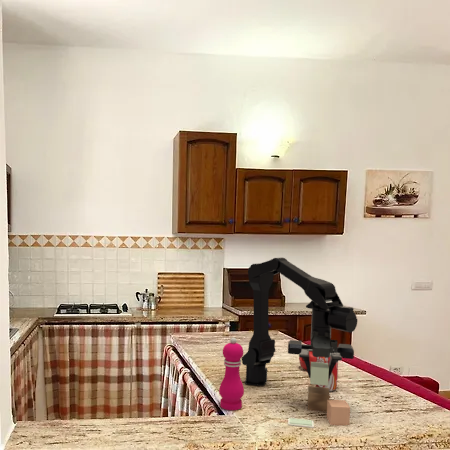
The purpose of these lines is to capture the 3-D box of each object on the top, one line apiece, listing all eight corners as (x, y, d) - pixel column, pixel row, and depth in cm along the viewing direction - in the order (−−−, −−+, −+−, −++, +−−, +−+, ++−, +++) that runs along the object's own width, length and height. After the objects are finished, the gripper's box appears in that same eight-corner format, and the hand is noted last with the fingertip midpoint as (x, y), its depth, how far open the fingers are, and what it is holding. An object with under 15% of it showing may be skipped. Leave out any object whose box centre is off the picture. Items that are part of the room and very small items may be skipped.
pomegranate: (325, 366, 181) (326, 342, 181) (326, 374, 172) (327, 348, 171) (298, 363, 183) (300, 339, 183) (298, 371, 173) (299, 345, 173)
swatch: (287, 425, 128) (287, 422, 128) (288, 419, 132) (288, 417, 132) (313, 427, 127) (313, 425, 127) (313, 421, 131) (313, 419, 131)
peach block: (330, 425, 129) (331, 406, 129) (326, 417, 134) (327, 399, 134) (349, 425, 130) (350, 407, 129) (344, 418, 135) (345, 400, 134)
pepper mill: (246, 403, 142) (249, 336, 142) (239, 413, 135) (241, 342, 135) (223, 399, 144) (225, 333, 144) (215, 408, 137) (217, 338, 137)
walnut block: (307, 410, 139) (308, 393, 139) (307, 402, 145) (308, 385, 145) (328, 412, 138) (329, 395, 138) (328, 404, 144) (328, 387, 144)
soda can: (337, 393, 153) (338, 356, 153) (314, 391, 154) (316, 354, 154) (336, 386, 160) (338, 350, 160) (315, 384, 161) (316, 348, 161)
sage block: (310, 383, 139) (311, 366, 139) (310, 378, 144) (310, 361, 144) (328, 385, 139) (328, 368, 139) (327, 379, 144) (327, 363, 144)
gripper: (288, 329, 135) (286, 384, 135) (357, 334, 132) (354, 391, 132) (289, 320, 146) (287, 372, 146) (352, 325, 143) (350, 377, 143)
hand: (319, 378), depth 142 cm, fingers closed on sage block, 5 cm apart
